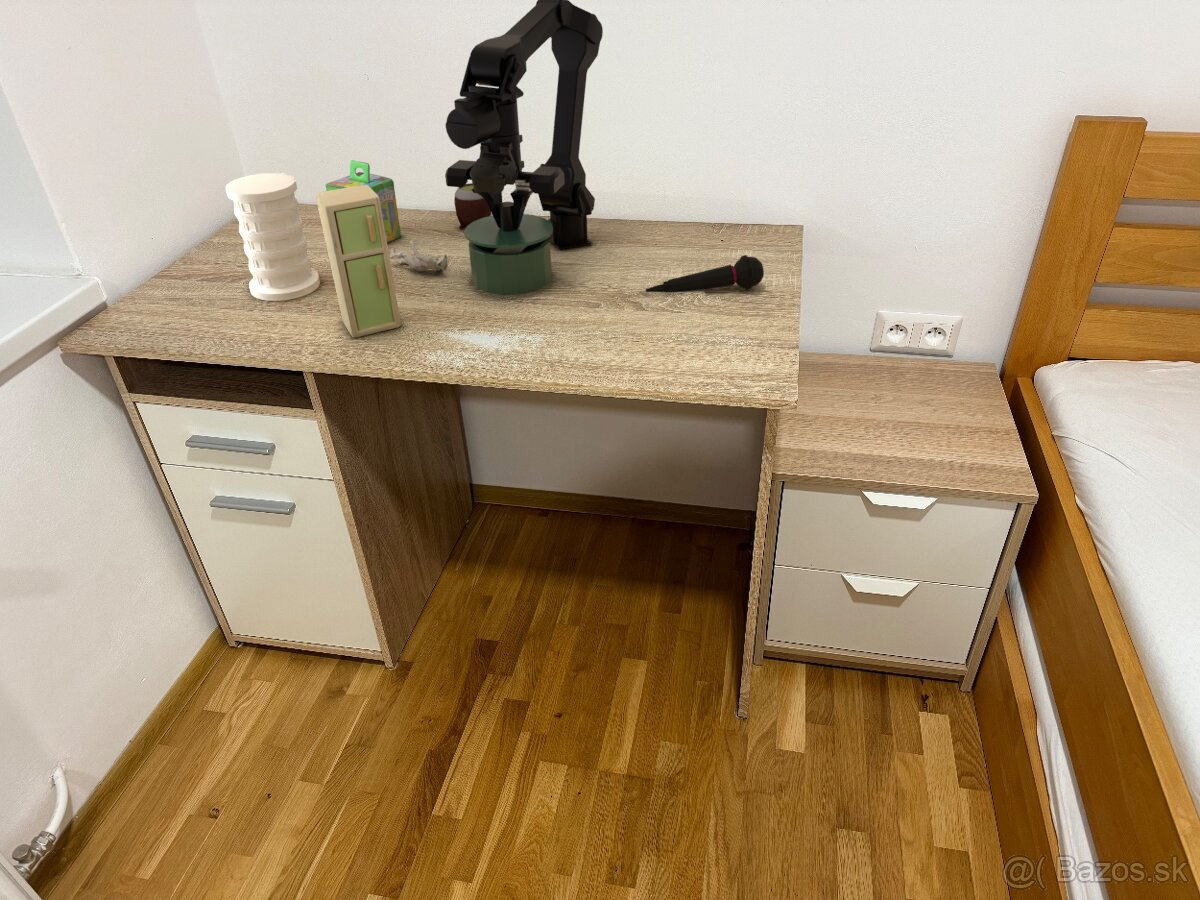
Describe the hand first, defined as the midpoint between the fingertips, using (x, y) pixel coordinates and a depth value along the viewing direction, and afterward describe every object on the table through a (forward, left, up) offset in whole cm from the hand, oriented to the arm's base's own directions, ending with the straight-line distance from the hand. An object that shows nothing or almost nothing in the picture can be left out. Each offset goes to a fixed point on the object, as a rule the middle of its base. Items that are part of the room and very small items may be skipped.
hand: (508, 228), depth 145 cm
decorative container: (+36, -16, -10) cm, 41 cm away
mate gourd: (-3, -28, -10) cm, 30 cm away
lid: (0, 0, -1) cm, 1 cm away
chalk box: (+18, -31, -10) cm, 37 cm away
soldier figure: (+13, -12, -10) cm, 20 cm away
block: (0, 0, -9) cm, 9 cm away
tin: (0, 0, -10) cm, 10 cm away
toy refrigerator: (+26, +6, -10) cm, 28 cm away
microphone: (-28, +18, -10) cm, 35 cm away
